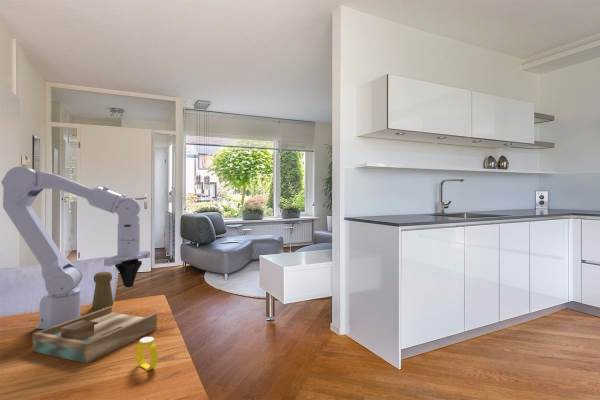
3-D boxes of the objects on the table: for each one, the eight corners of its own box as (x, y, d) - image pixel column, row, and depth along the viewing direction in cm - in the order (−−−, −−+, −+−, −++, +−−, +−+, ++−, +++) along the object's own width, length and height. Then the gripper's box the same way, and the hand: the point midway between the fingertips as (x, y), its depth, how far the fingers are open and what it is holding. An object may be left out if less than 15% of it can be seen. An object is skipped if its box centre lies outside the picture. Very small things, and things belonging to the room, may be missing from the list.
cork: (103, 309, 103) (103, 274, 103) (87, 308, 105) (87, 273, 105) (117, 303, 109) (118, 270, 109) (102, 302, 111) (102, 269, 111)
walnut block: (60, 340, 75) (60, 327, 75) (81, 332, 80) (81, 320, 80) (73, 343, 74) (73, 330, 74) (94, 334, 78) (94, 322, 78)
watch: (160, 370, 68) (161, 341, 68) (147, 376, 66) (149, 346, 65) (144, 359, 71) (145, 332, 71) (131, 365, 69) (133, 337, 69)
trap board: (32, 351, 75) (32, 333, 75) (108, 320, 94) (108, 306, 94) (87, 363, 70) (87, 344, 70) (156, 328, 89) (156, 313, 89)
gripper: (118, 243, 88) (117, 294, 88) (158, 237, 101) (157, 281, 101) (98, 242, 90) (98, 292, 90) (140, 236, 104) (139, 279, 104)
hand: (128, 286), depth 96 cm, fingers closed
